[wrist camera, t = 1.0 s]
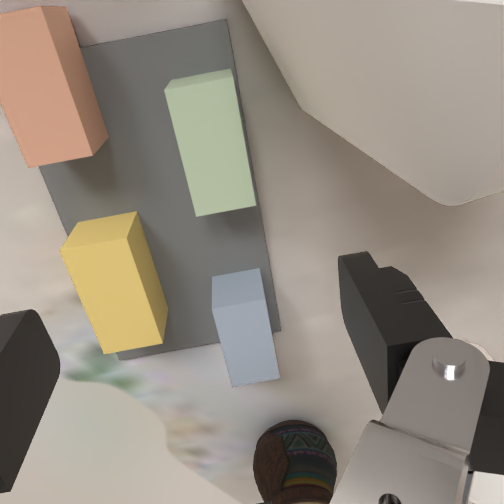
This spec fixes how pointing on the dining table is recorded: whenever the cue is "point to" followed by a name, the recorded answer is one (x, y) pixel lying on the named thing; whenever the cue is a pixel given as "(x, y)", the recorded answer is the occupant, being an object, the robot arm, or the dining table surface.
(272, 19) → the milk
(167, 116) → the mat
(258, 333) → the blue block
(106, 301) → the mustard block
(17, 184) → the dining table surface
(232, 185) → the green block
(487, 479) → the white cup
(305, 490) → the mate gourd
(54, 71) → the terracotta block
